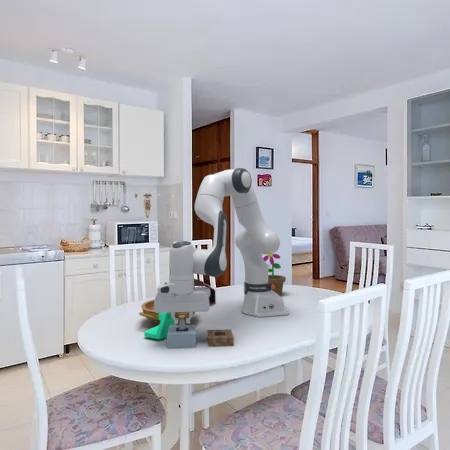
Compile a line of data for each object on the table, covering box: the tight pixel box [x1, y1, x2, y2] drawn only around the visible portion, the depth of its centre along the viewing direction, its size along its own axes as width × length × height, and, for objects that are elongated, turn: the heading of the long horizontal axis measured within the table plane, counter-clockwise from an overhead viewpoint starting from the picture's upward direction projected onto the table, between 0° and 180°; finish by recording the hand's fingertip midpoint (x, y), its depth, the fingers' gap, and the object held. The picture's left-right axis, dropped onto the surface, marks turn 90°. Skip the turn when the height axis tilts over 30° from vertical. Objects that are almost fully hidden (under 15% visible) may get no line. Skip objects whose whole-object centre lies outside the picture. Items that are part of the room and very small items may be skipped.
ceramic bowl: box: [138, 298, 196, 326], centre depth 159 cm, size 30×24×8 cm
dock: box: [166, 324, 197, 349], centre depth 135 cm, size 10×10×5 cm
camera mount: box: [144, 313, 177, 340], centre depth 143 cm, size 12×8×10 cm, turn 153°
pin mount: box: [207, 328, 235, 347], centre depth 136 cm, size 9×9×3 cm
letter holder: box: [194, 278, 217, 307], centre depth 191 cm, size 10×20×14 cm, turn 52°
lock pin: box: [178, 313, 187, 331], centre depth 135 cm, size 3×3×10 cm
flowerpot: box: [263, 253, 286, 297], centre depth 209 cm, size 14×14×30 cm
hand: (182, 323), depth 135 cm, fingers closed on lock pin, 3 cm apart
